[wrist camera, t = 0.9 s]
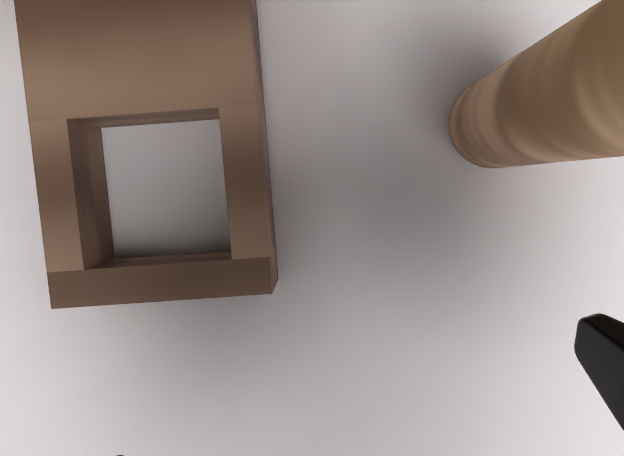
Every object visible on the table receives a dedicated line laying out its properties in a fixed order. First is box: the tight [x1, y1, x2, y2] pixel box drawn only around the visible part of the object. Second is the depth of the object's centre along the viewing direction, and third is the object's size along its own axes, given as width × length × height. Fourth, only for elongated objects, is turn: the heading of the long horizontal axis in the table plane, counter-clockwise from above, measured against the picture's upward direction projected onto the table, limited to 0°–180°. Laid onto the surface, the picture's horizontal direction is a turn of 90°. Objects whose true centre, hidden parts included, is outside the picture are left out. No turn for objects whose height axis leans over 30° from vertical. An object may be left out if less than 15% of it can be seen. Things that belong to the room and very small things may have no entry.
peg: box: [449, 0, 624, 168], centre depth 16 cm, size 4×4×12 cm
